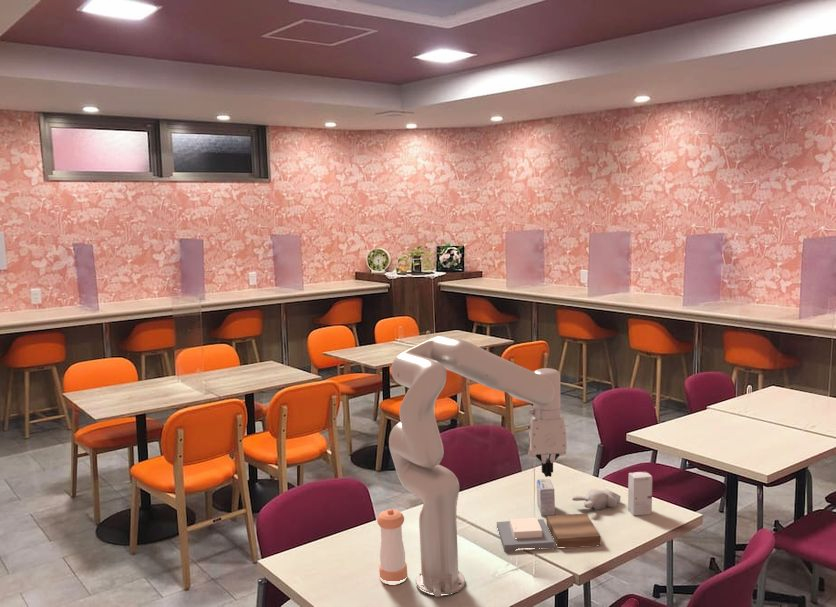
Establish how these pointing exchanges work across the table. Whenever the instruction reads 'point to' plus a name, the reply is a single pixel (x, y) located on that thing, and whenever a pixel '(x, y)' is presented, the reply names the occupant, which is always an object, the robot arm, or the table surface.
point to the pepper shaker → (392, 546)
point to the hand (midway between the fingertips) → (547, 474)
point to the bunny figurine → (599, 499)
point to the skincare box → (640, 493)
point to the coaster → (525, 528)
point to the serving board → (573, 530)
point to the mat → (514, 544)
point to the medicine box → (545, 497)
